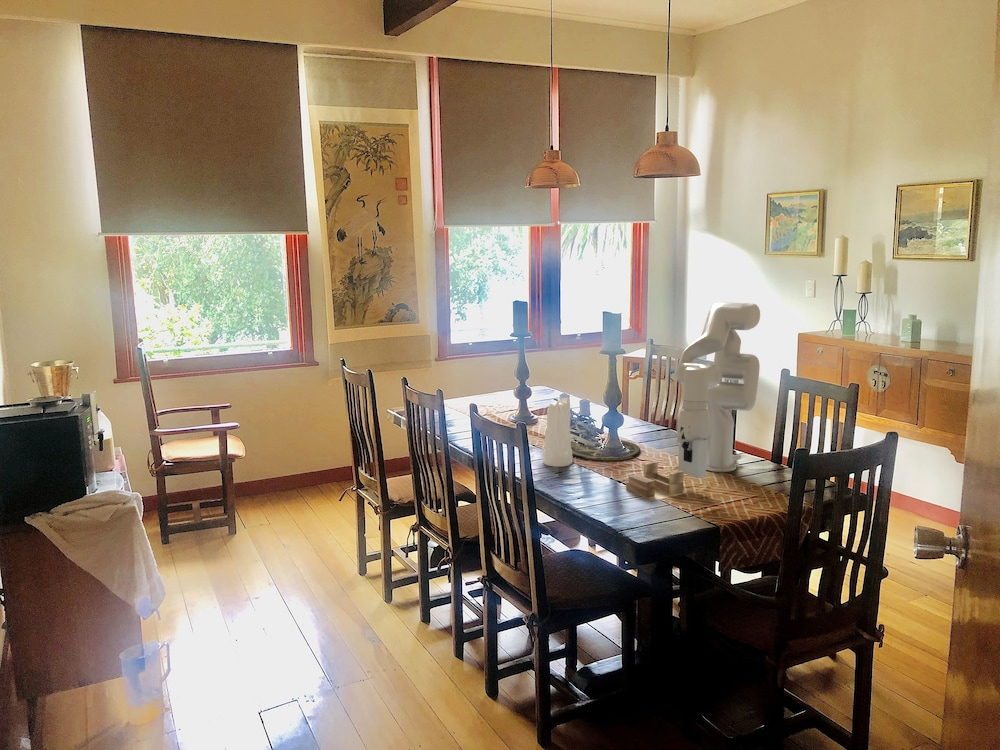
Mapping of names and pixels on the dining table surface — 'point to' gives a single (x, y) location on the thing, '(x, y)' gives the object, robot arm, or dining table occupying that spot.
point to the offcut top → (641, 482)
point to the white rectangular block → (694, 459)
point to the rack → (663, 482)
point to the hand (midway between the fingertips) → (692, 459)
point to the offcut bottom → (640, 491)
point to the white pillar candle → (558, 435)
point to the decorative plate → (594, 455)
